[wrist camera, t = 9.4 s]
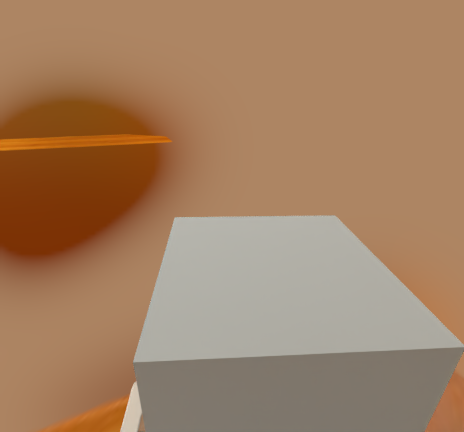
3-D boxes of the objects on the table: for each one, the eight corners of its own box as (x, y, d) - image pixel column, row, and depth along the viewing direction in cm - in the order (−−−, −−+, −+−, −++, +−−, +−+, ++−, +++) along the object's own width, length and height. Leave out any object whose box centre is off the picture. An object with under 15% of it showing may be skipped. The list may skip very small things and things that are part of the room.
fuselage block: (182, 637, 10) (133, 362, 4) (192, 455, 15) (174, 217, 9) (331, 620, 10) (466, 346, 5) (292, 448, 15) (335, 215, 10)
